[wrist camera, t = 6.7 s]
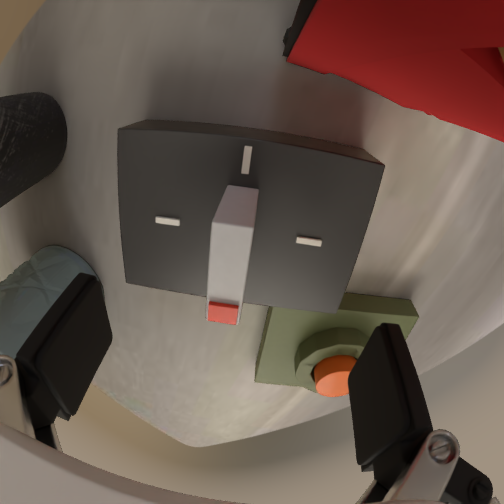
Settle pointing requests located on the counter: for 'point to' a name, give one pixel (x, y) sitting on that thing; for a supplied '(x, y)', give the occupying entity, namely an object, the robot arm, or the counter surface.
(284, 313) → the button block
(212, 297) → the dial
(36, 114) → the travel mug
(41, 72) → the counter surface
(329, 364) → the button
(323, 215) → the plate
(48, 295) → the teal embossed cup
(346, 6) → the red coffee machine
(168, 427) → the counter surface
